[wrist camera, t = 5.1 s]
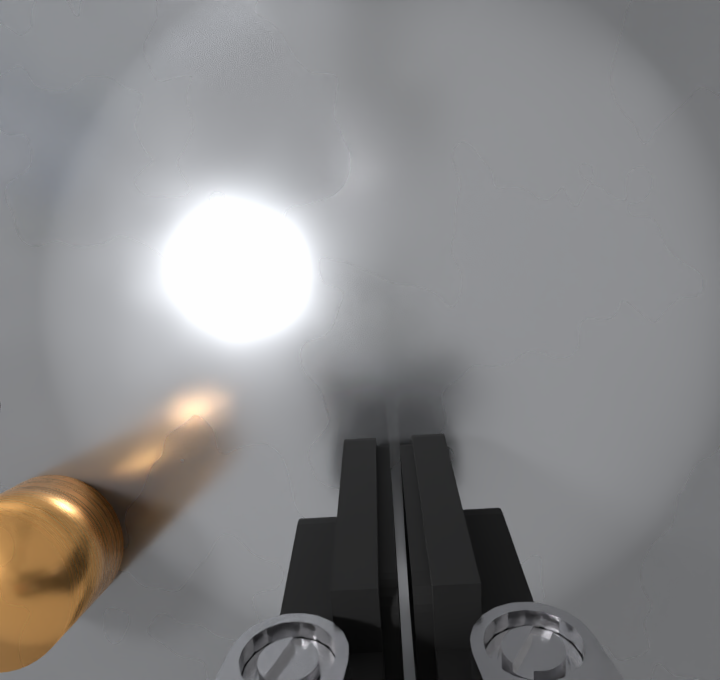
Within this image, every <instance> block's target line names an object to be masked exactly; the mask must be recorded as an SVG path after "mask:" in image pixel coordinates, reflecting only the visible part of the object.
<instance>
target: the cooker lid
mask: <svg viewBox="0 0 720 680" xmlns="http://www.w3.org/2000/svg"><path fill="white" fill-rule="evenodd" d="M443 433H444V435H445V439H446V443H447V447H448V451H449V455H450V459H451V463H452V467H453V471H454V476H455V480H456V484H457V488H458V492H459V496H460V500H461V504H462V508H463V510H465V509H483V508H501V510H502V512H503V515H504V518H505V521H506V524H507V526H508V529H509V532H510V535H511V538H512V541H513V544H514V546H515V549H516V552H517V555H518V558H519V561H520V564H521V566H522V569H523V572H524V575H525V578H526V581H527V584H528V586H529V589H530V592H531V595H532V598H533V601H534V603H540V604H547V605H550V606H553V607H556V608H559V609H561V610H564V611H567V612H568V613H570V614H571V615H573V616H574V617H576V618H578V619H579V620H581V621H582V622H583V623H584V624H585V625H586V626H587V627H588V629H589V630H590V631H591V632H592V633H593V634H594V636H595V637H596V639H597V640H598V642H599V643H600V645H601V646H602V648H603V649H604V651H605V652H606V654H607V655H608V657H609V658H610V660H611V661H612V663H613V664H614V666H615V667H616V669H617V670H618V672H619V673H620V674H621V676H622V677H623V679H624V680H720V0H0V680H215V679H216V677H217V675H218V673H219V670H220V668H221V666H222V664H223V662H224V660H225V658H226V656H227V654H228V652H229V650H230V649H231V647H232V646H233V644H234V643H235V641H236V640H237V638H238V637H240V636H241V635H242V634H243V633H244V632H246V631H247V630H248V629H249V628H250V627H252V626H254V625H256V624H258V623H260V622H262V621H264V620H266V619H268V618H272V617H276V616H280V612H281V607H282V601H283V596H284V591H285V586H286V581H287V575H288V570H289V565H290V560H291V554H292V549H293V544H294V539H295V534H296V528H297V524H298V520H299V519H301V518H319V517H337V510H338V499H339V488H340V477H341V466H342V455H343V444H344V439H359V438H376V441H377V446H386V445H389V449H390V464H391V479H392V495H393V510H394V525H395V540H396V556H397V571H398V586H399V602H400V619H401V635H402V652H403V668H404V680H416V679H415V667H414V655H413V643H412V630H411V618H410V606H409V592H408V576H407V560H406V543H405V527H404V510H403V494H402V477H401V461H400V445H403V444H412V435H426V434H443Z"/></svg>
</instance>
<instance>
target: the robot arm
mask: <svg viewBox="0 0 720 680" xmlns="http://www.w3.org/2000/svg"><path fill="white" fill-rule="evenodd" d="M400 461H401V477H402V494H403V510H404V527H405V543H406V560H407V576H408V592H409V606H410V618H411V630H412V643H413V655H414V667H415V679H416V680H624V679H623V677H622V676H621V674H620V673H619V672H618V670H617V669H616V667H615V666H614V664H613V663H612V661H611V660H610V658H609V657H608V655H607V654H606V652H605V651H604V649H603V648H602V646H601V645H600V643H599V642H598V640H597V639H596V637H595V636H594V634H593V633H592V632H591V631H590V630H589V629H588V627H587V626H586V625H585V624H584V623H583V622H582V621H581V620H579V619H578V618H576V617H574V616H573V615H571V614H570V613H568V612H567V611H564V610H561V609H559V608H556V607H553V606H550V605H547V604H540V603H534V601H533V598H532V595H531V592H530V589H529V586H528V584H527V581H526V578H525V575H524V572H523V569H522V566H521V564H520V561H519V558H518V555H517V552H516V549H515V546H514V544H513V541H512V538H511V535H510V532H509V529H508V526H507V524H506V521H505V518H504V515H503V512H502V510H501V508H483V509H465V510H463V508H462V504H461V500H460V496H459V492H458V488H457V484H456V480H455V476H454V471H453V467H452V463H451V459H450V455H449V451H448V447H447V443H446V439H445V435H444V433H443V434H426V435H412V444H403V445H400ZM215 680H404V668H403V652H402V635H401V619H400V602H399V586H398V571H397V556H396V540H395V525H394V510H393V495H392V479H391V464H390V449H389V445H386V446H377V441H376V438H359V439H344V444H343V455H342V466H341V477H340V488H339V499H338V510H337V517H319V518H301V519H299V520H298V524H297V528H296V534H295V539H294V544H293V549H292V554H291V560H290V565H289V570H288V575H287V581H286V586H285V591H284V596H283V601H282V607H281V612H280V616H276V617H272V618H268V619H266V620H264V621H262V622H260V623H258V624H256V625H254V626H252V627H250V628H249V629H248V630H247V631H246V632H244V633H243V634H242V635H241V636H240V637H238V638H237V640H236V641H235V643H234V644H233V646H232V647H231V649H230V650H229V652H228V654H227V656H226V658H225V660H224V662H223V664H222V666H221V668H220V670H219V673H218V675H217V677H216V679H215Z"/></svg>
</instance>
